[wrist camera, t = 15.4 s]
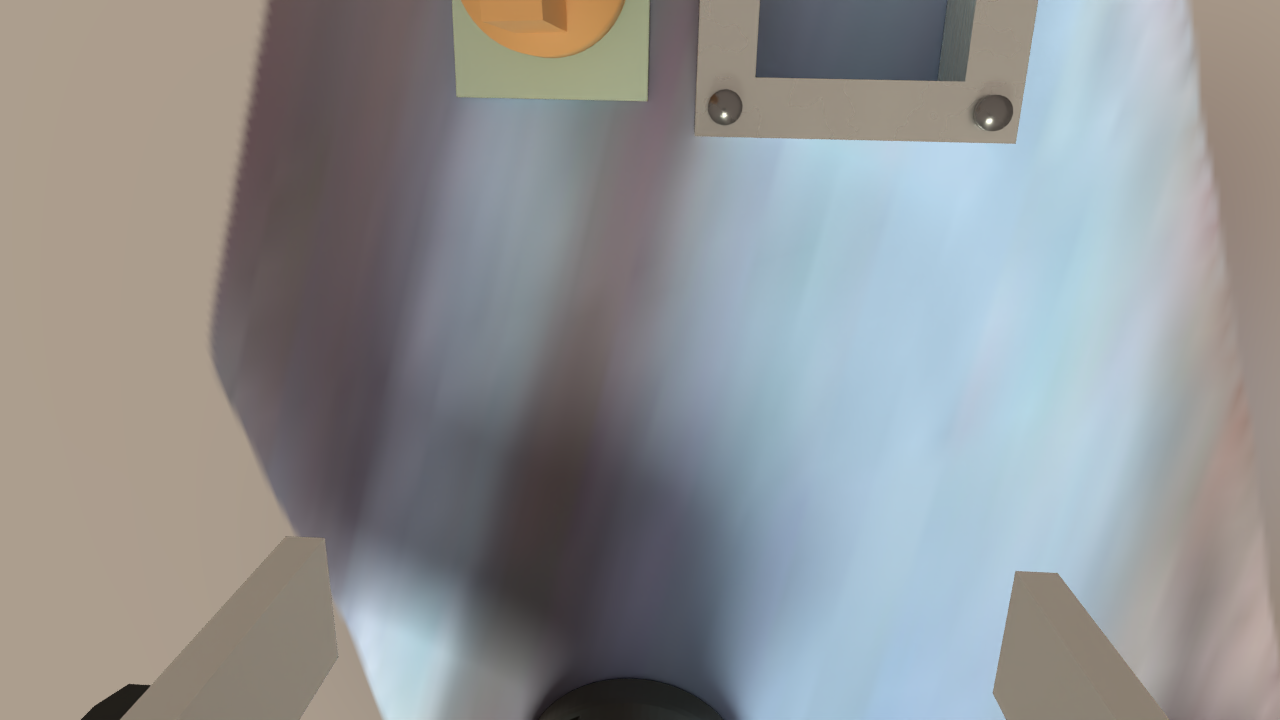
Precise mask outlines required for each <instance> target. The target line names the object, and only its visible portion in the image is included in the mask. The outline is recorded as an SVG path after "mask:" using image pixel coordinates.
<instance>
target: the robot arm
mask: <svg viewBox="0 0 1280 720" xmlns="http://www.w3.org/2000/svg"><path fill="white" fill-rule="evenodd" d="M337 658H338V651H337V643H336V633H335V624H334V615H333V607H332V597H331V589H330V580H329V571H328V562H327V554H326V545H325V538H312V537H291V536H286V537H285V538H284V539H283V540H282V541H281V542H280V544H279V545H278V546H277V547H276V548H275V549H274V550H273V551H272V552H271V554H270V555H269V556H268V557H267V558H266V559H265V560H264V561H263V562H262V563H261V565H260V566H259V567H258V568H257V569H256V570H255V571H254V572H253V573H252V574H251V576H250V577H249V578H248V579H247V580H246V581H245V582H244V583H243V584H242V586H241V587H240V588H239V589H238V590H237V591H236V592H235V593H234V594H233V596H232V597H231V598H230V599H229V600H228V601H227V602H226V603H225V604H224V605H223V607H222V608H221V609H220V610H219V611H218V612H217V613H216V614H215V615H214V617H213V618H212V619H211V620H210V621H209V622H208V623H207V624H206V625H205V627H204V628H203V629H202V630H201V631H200V632H199V633H198V634H197V635H196V636H195V637H194V639H193V640H192V641H191V642H190V643H189V644H188V645H187V646H186V647H185V649H184V650H183V651H182V652H181V653H180V654H179V655H178V656H177V657H176V658H175V659H174V661H173V662H172V663H171V664H170V665H169V666H168V667H167V668H166V669H165V671H164V672H163V673H162V674H161V675H160V676H159V677H158V678H157V680H156V681H155V682H154V683H153V684H152V685H135V684H128V685H127V686H125V687H123V688H122V689H120V690H119V691H117V692H116V693H114V694H112V695H111V696H109V697H108V698H106V699H105V700H103V701H102V702H100V703H98V704H97V705H95V706H94V707H93V708H92V709H91V710H90V711H89V712H88V713H87V714H86V715H85V716H84V717H83V718H82V719H81V720H300V718H301V716H302V715H303V713H304V712H305V710H306V708H307V707H308V705H309V703H310V702H311V700H312V699H313V697H314V695H315V694H316V692H317V691H318V689H319V687H320V686H321V684H322V683H323V681H324V679H325V678H326V676H327V675H328V673H329V671H330V670H331V668H332V666H333V665H334V663H335V662H336V660H337ZM993 695H994V697H995V699H996V700H997V702H998V704H999V706H1000V708H1001V710H1002V712H1003V714H1004V716H1005V718H1006V720H1169V719H1168V717H1167V716H1166V715H1165V713H1164V712H1163V711H1162V709H1161V708H1160V707H1159V705H1158V704H1157V703H1156V701H1155V700H1154V699H1153V698H1152V696H1151V695H1150V694H1149V692H1148V691H1147V690H1146V688H1145V687H1144V686H1143V684H1142V683H1141V682H1140V681H1139V679H1138V678H1137V677H1136V675H1135V674H1134V673H1133V671H1132V670H1131V669H1130V667H1129V666H1128V665H1127V663H1126V662H1125V661H1124V660H1123V658H1122V657H1121V656H1120V654H1119V653H1118V652H1117V650H1116V649H1115V648H1114V646H1113V645H1112V644H1111V643H1110V641H1109V640H1108V639H1107V637H1106V636H1105V635H1104V633H1103V632H1102V631H1101V629H1100V628H1099V627H1098V625H1097V624H1096V623H1095V622H1094V620H1093V619H1092V618H1091V616H1090V615H1089V614H1088V612H1087V611H1086V610H1085V608H1084V607H1083V606H1082V604H1081V603H1080V602H1079V601H1078V599H1077V598H1076V597H1075V595H1074V594H1073V593H1072V591H1071V590H1070V589H1069V587H1068V586H1067V585H1066V584H1065V582H1064V581H1063V580H1062V578H1061V577H1060V576H1059V574H1058V573H1044V572H1023V571H1015V577H1014V582H1013V587H1012V593H1011V598H1010V603H1009V609H1008V614H1007V619H1006V625H1005V630H1004V635H1003V641H1002V646H1001V651H1000V657H999V662H998V668H997V673H996V678H995V684H994V689H993ZM538 720H723V719H722V718H721V717H720V716H719V715H718V713H716V712H715V711H714V710H713V709H712V708H711V707H710V706H708V705H707V704H706V703H704V702H703V701H702V700H700V699H699V698H697V697H695V696H693V695H692V694H690V693H688V692H686V691H684V690H681V689H679V688H676V687H674V686H671V685H668V684H664V683H660V682H656V681H650V680H644V679H612V680H605V681H600V682H596V683H592V684H589V685H586V686H583V687H580V688H578V689H576V690H574V691H571V692H570V693H568V694H566V695H564V696H563V697H561V698H560V699H558V700H557V701H556V702H554V703H553V704H552V705H551V706H550V707H549V708H548V709H547V710H546V711H545V712H544V713H543V714H542V715H541V717H540V718H539V719H538Z"/></svg>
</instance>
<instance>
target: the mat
mask: <svg viewBox="0 0 1280 720" xmlns="http://www.w3.org/2000/svg"><path fill="white" fill-rule="evenodd" d="M452 11H453V32H454V53H455V74H456V95H457V97H478V98H525V99H572V100H619V101H648V68H649V21H650V0H625V4H624V6H623V9H622V11H621V13H620V15H619V17H618V19H617V21H616V22H615V24H614V25H613V27H612V28H611V29H610V30H609V32H608V33H607V34H606V35H605V36H604V37H603V38H602V39H601V40H600V41H598V42H597V43H596V44H594V45H593V46H592V47H590V48H588V49H586V50H585V51H582V52H580V53H577V54H575V55H571V56H567V57H561V58H542V57H537V56H532V55H528V54H523V53H520V52H517V51H514V50H511V49H508V48H506V47H504V46H502V45H500V44H499V43H497V42H496V41H494V40H493V39H491V38H490V37H489V36H488V35H486V34H485V33H484V32H483V31H482V30H481V29H480V28H479V27H478V26H477V25H476V23H475V22H474V21H473V20H472V18H471V17H470V15H469V14H468V13H467V11H466V9H465V7H464V5H463V4H462V2H461V0H452Z"/></svg>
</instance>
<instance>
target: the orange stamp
mask: <svg viewBox="0 0 1280 720" xmlns="http://www.w3.org/2000/svg"><path fill="white" fill-rule="evenodd" d="M461 2H462V4H463V5H464V7H465V9H466V11H467V13H468V14H469V15H470V17H471V18H472V20H473V21H474V22H475V23H476V25H477V26H478V27H479V28H480V29H481V30H482V31H483V32H484V33H485V34H486V35H488V36H489V37H490V38H491V39H493V40H494V41H496V42H497V43H499V44H500V45H502V46H504V47H506V48H508V49H511V50H514V51H517V52H520V53H523V54H528V55H532V56H537V57H542V58H561V57H567V56H571V55H575V54H577V53H580V52H582V51H585V50H586V49H588V48H590V47H592V46H593V45H594V44H596V43H597V42H598V41H600V40H601V39H602V38H603V37H604V36H605V35H606V34H607V33H608V32H609V30H610V29H611V28H612V27H613V25H614V24H615V22H616V21H617V19H618V17H619V15H620V13H621V11H622V9H623V6H624V4H625V0H461Z"/></svg>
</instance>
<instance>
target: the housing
mask: <svg viewBox="0 0 1280 720" xmlns="http://www.w3.org/2000/svg"><path fill="white" fill-rule="evenodd" d="M1037 4H1038V0H948V1H947V9H946V16H945V24H944V32H943V40H942V48H941V56H940V64H939V72H938V80H937V81H911V80H860V79H809V78H759V77H755V74H756V57H757V41H758V24H759V7H760V0H699V24H698V50H697V76H696V102H695V128H694V133H695V136H711V137H754V138H797V139H840V140H883V141H926V142H969V143H1012V144H1016V138H1017V131H1018V125H1019V119H1020V112H1021V106H1022V100H1023V93H1024V87H1025V81H1026V74H1027V68H1028V62H1029V55H1030V49H1031V43H1032V36H1033V30H1034V23H1035V17H1036V11H1037Z"/></svg>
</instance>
